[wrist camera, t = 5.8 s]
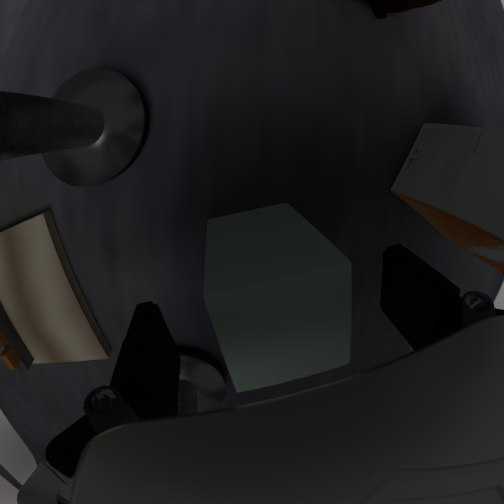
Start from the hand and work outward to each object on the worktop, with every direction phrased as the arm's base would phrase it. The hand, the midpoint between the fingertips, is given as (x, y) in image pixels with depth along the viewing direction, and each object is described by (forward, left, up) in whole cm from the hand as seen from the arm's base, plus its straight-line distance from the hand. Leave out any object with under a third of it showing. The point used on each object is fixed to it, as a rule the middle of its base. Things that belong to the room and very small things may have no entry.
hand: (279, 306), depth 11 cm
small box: (-15, -1, -8) cm, 17 cm away
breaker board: (+18, +1, -8) cm, 20 cm away
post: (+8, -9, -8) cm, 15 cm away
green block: (0, +1, -8) cm, 8 cm away
